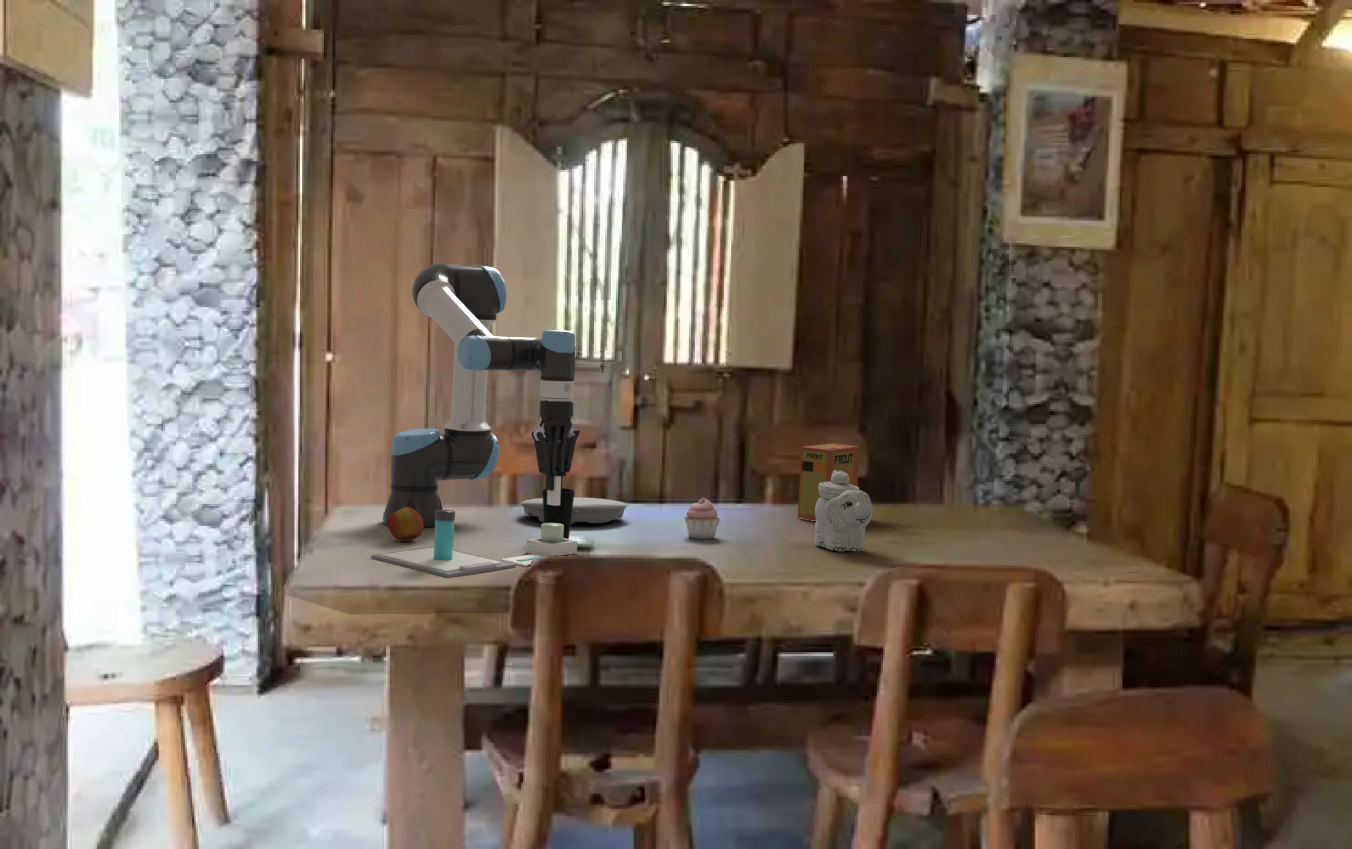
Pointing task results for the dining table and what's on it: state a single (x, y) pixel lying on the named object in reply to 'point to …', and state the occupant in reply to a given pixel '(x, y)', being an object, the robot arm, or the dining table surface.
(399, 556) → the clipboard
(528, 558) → the card
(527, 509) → the flat disc
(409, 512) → the apple
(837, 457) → the box
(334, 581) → the dining table surface
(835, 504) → the white elephant jar
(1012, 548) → the dining table surface
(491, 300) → the robot arm
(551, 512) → the cup
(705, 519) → the cupcake
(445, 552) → the teal bottle
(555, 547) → the button box
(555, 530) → the button
